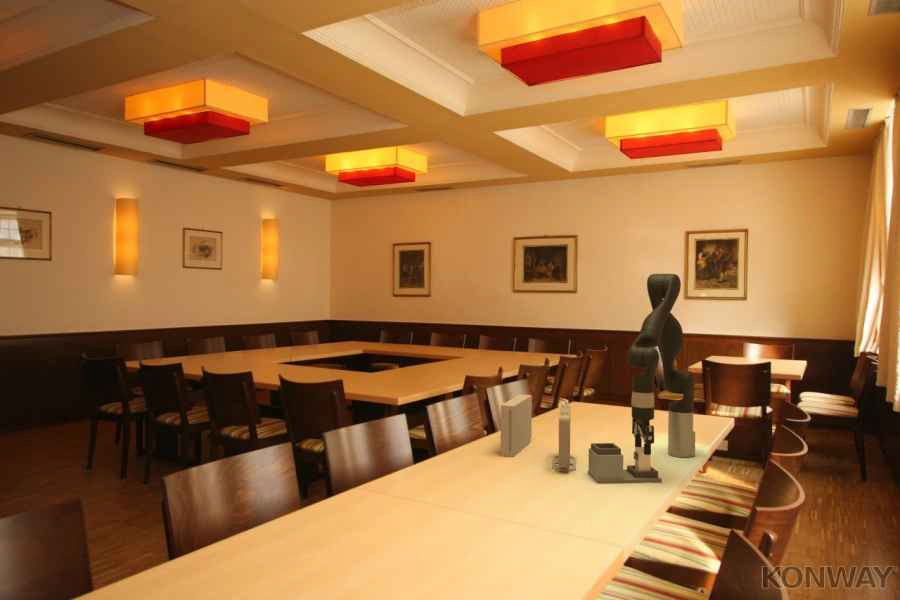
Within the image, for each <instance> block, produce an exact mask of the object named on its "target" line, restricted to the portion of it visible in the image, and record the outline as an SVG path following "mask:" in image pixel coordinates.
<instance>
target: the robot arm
mask: <svg viewBox="0 0 900 600" xmlns="http://www.w3.org/2000/svg"><path fill="white" fill-rule="evenodd" d="M681 284H682V283H681V278H680V276H679V275H678V274H676V273H651V274H650V275H648V278H647V281H646V289H647V294H648V299H649V302H650V306H651V309H652V311H650V313H649V314H648V315H647V316H646V317H645V319H644V320H643V323H642V324H641V328H640V331H639V334H638V336H637V337H636V338H635V340H634V341H633V343H632V344H631V346H630V347H629V349H628V351H627V355H626V360H627V363H628V365H629V366H631V367H633V368H645V372H643V373H636V374H634V375H633V376H632V379H631V380H632V381H631V382H632V383H631V384H632V389H631V390H632V392H631V393H632V394H631V418H632V421H631V434H632V435H633V437H634V448H635V447H644V454H645V455H652V444H655V426H654V425H652V424H650V421H652V420H655V395H654V390H655V389H654V388H655V387H654V384H655V383H654V380H655V376H656V371H657V368H658V365H659V362H660V356H661V363H662V371H663V372H662V373H663V382H664V384H663V385H664V388H665V390H666V391H667V392H668V393H671V394H678V395H683V397H682V398H681V399H679V400H676V401H675V400H674V401H671V402H669V403H668V405H667V406H668V414H667V415H668V416H667V417H668V418H667V419H668V420H667V422H668V424H667V425H668V427H667V428H668V429H667V430H668V431H667V435H668V436H667V437H668V438H667V454H668V455H670V456H672V457H676V458H691V457H695V456H696V431H694V407H695V406H694V405H695V391H696V390H695V388H696V377H695V374H694V372H693V371H690V370H679V369H675V367H674V362H675V360H676V358H677V356H678V355H679V353H680V352H681V350H682V349H683V346H684V343H685V340H684V339H685V338H684V332H683V327H682V325H681V323H680V322H679V320H678V319H677V318H676V317H675V315H673V314H672V313H671V311H672V310H673V307H674V305H675V304H676V301H677V299H678V298H679V295H680V292H681V289H682V286H681ZM657 345H658V346H659V351H660V354H659V351H658V350H657V349H656V348H654V347H656V346H657ZM642 440H643V441H642ZM642 443H643V445H642Z"/></svg>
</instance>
